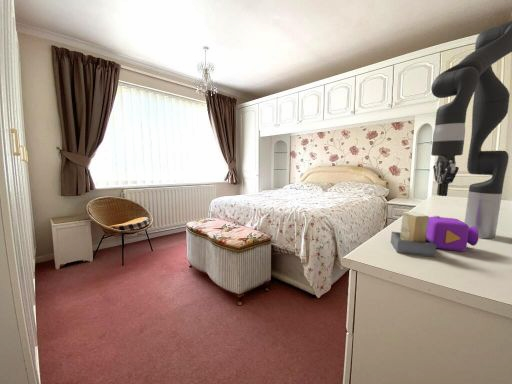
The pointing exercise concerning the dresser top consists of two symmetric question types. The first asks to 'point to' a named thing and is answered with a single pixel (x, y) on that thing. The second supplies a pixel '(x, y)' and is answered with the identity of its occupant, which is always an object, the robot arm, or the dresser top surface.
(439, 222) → the toy camera
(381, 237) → the dresser top surface
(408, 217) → the skincare box
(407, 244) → the tray
